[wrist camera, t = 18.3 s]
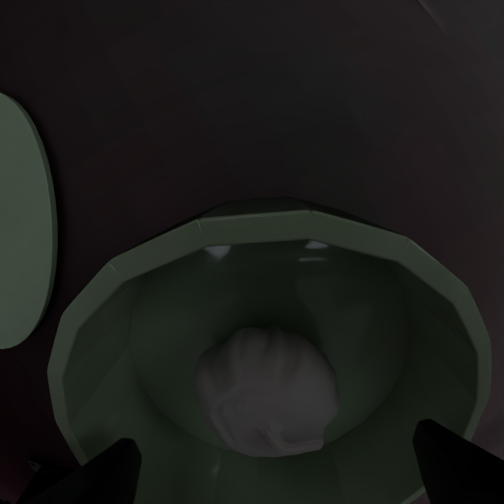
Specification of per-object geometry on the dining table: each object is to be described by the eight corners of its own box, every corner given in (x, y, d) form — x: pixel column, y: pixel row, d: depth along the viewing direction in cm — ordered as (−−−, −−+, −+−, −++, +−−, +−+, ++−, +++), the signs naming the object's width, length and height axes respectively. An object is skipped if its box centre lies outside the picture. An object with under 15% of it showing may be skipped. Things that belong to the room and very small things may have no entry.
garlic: (357, 349, 13) (395, 425, 8) (286, 424, 14) (292, 505, 9) (245, 279, 13) (234, 342, 8) (181, 370, 14) (149, 449, 9)
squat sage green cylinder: (158, 453, 16) (130, 534, 10) (97, 215, 13) (-4, 243, 7) (394, 439, 15) (427, 518, 9) (422, 190, 12) (524, 203, 6)
